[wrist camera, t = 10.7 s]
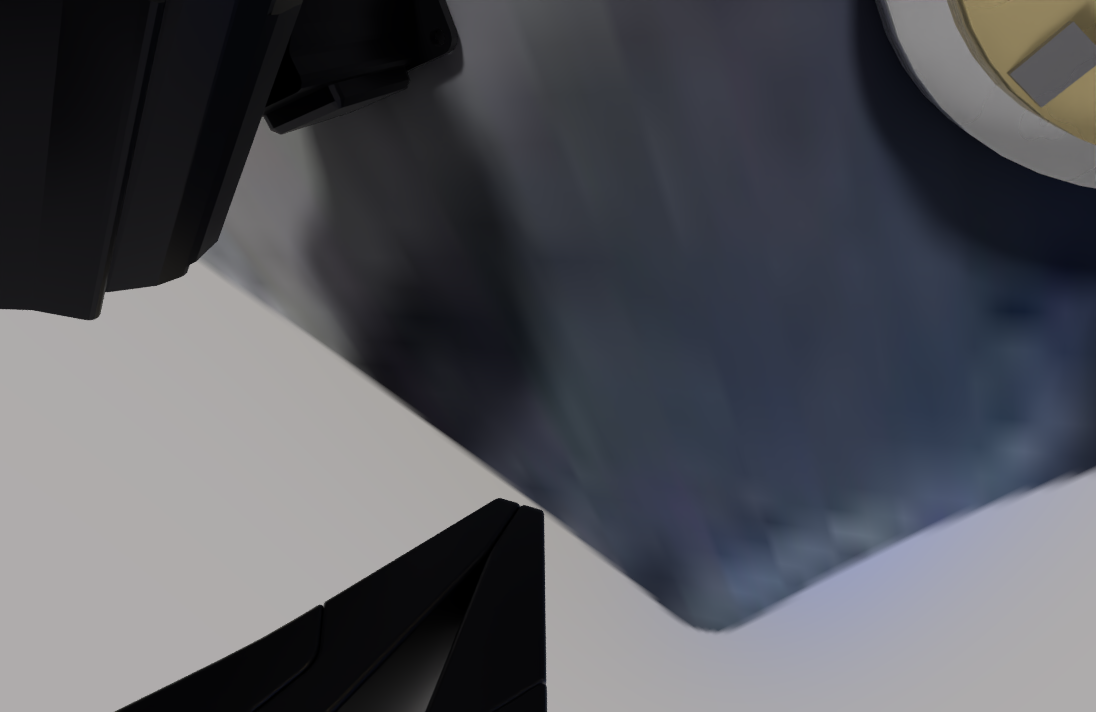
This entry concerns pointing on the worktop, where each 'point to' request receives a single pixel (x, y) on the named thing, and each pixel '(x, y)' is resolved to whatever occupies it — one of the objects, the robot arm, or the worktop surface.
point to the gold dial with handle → (1037, 55)
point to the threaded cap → (978, 93)
